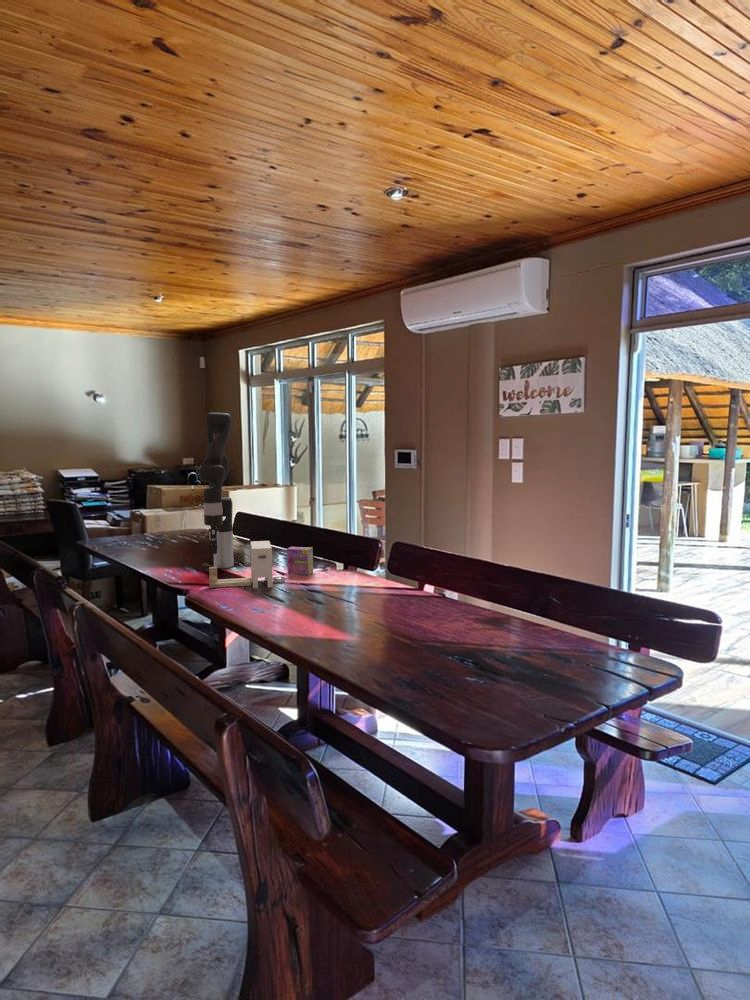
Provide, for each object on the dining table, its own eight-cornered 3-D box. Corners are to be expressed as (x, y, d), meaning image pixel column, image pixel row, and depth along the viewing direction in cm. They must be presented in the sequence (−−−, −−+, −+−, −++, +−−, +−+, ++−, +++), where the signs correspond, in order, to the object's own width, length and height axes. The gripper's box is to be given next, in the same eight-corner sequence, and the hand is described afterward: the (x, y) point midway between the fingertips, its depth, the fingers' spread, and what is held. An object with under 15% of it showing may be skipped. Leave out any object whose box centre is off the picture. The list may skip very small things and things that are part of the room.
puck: (272, 581, 276) (272, 576, 276) (284, 580, 277) (284, 576, 277) (273, 584, 271) (273, 579, 271) (285, 583, 272) (285, 578, 272)
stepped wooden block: (210, 584, 271) (209, 566, 270) (251, 582, 275) (250, 564, 274) (209, 588, 265) (209, 569, 264) (251, 586, 268) (250, 567, 267)
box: (287, 574, 289) (286, 548, 287) (292, 571, 294) (292, 546, 293) (308, 575, 286) (308, 549, 284) (313, 572, 291) (313, 547, 290)
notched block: (251, 578, 280) (250, 541, 278) (269, 577, 282) (269, 540, 280) (253, 588, 262) (252, 549, 260) (272, 587, 264) (271, 548, 262)
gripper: (204, 511, 271) (205, 548, 273) (203, 516, 257) (204, 555, 259) (222, 510, 272) (223, 547, 274) (222, 515, 259) (223, 554, 261)
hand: (214, 551), depth 267 cm, fingers open, 8 cm apart
